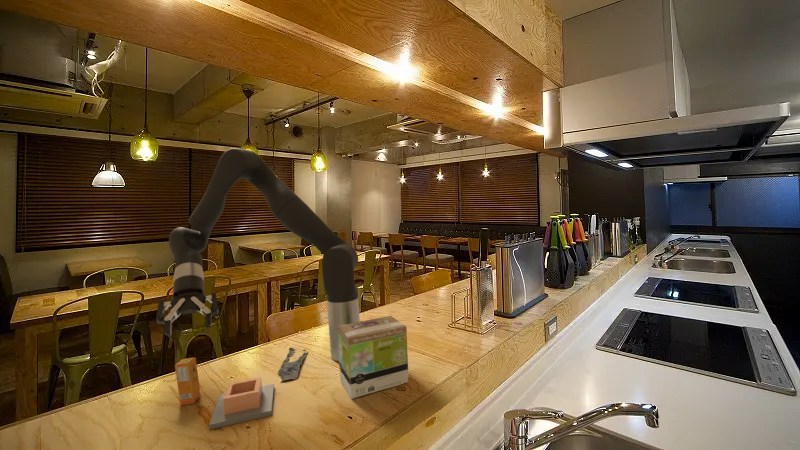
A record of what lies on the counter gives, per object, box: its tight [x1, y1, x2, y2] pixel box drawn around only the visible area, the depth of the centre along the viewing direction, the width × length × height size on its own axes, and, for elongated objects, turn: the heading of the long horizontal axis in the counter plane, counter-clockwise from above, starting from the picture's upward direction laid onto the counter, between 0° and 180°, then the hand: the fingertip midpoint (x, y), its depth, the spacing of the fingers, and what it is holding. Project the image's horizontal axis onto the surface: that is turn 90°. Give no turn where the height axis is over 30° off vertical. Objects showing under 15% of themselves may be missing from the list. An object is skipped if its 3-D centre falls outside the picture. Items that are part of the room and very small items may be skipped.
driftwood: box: [277, 347, 308, 383], centre depth 96 cm, size 21×7×2 cm, turn 5°
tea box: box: [338, 315, 409, 400], centre depth 83 cm, size 15×10×15 cm
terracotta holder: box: [223, 376, 263, 415], centre depth 75 cm, size 7×7×4 cm
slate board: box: [208, 383, 275, 430], centre depth 75 cm, size 12×12×1 cm
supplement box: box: [174, 357, 201, 406], centre depth 79 cm, size 3×3×10 cm
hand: (188, 332), depth 87 cm, fingers open, 8 cm apart
